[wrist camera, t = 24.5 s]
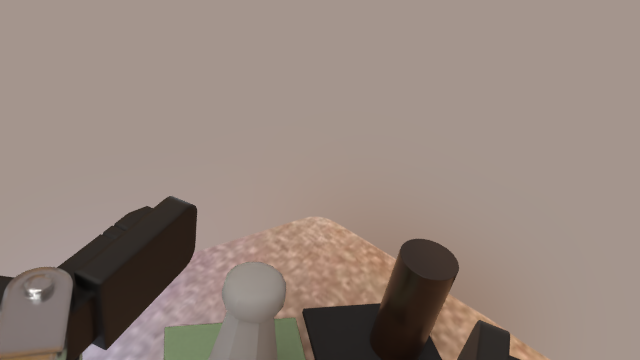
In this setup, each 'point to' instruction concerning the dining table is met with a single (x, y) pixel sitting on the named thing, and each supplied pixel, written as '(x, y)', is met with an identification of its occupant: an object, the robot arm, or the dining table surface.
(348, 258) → the dining table surface
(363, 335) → the dark mat
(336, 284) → the dining table surface
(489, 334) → the robot arm
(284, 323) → the sage mat
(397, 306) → the dark brown cylinder
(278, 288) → the salt shaker
